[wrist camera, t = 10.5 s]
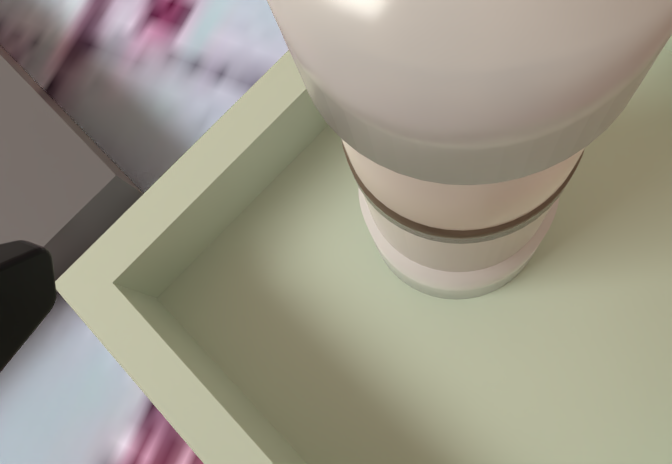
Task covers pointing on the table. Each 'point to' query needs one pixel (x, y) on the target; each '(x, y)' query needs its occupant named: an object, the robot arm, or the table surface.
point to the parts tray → (387, 305)
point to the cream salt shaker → (468, 117)
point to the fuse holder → (53, 174)
